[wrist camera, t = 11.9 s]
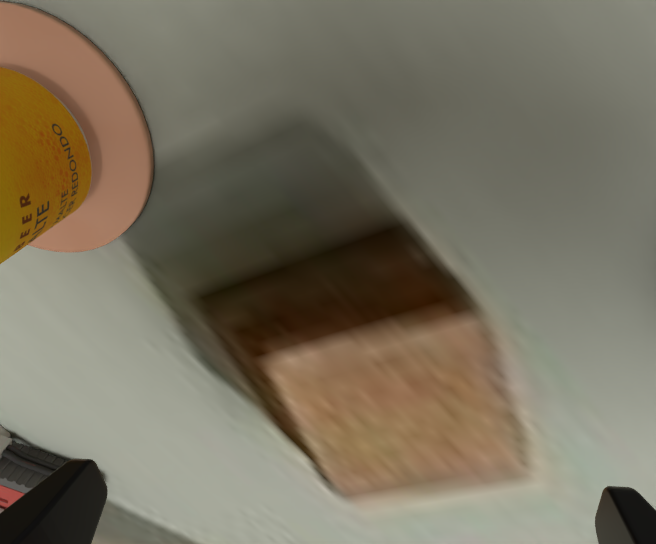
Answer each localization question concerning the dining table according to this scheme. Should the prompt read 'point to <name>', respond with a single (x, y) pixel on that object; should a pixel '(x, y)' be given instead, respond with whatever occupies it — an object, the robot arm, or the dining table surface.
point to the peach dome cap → (85, 123)
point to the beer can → (37, 162)
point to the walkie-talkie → (22, 468)
